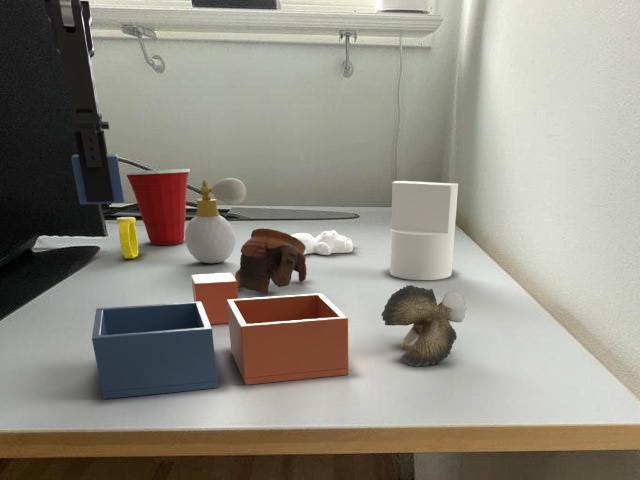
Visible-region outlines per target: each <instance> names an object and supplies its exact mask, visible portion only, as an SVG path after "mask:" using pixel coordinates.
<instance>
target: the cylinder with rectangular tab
mask: <svg viewBox="0 0 640 480" xmlns="http://www.w3.org/2000/svg"><path fill="white" fill-rule="evenodd" d="M458 191H459V183H451V182H433V181H414V180H413V181H411V180H395V181H392V183H391V211H390V212H391V213H390V248H389V249H390V250H389V275H391V276H392V277H394V278H398V279H404V280H409V281H411V280H412V281H437V280H443V279H447V278H449V277H451V276H452V275H453V273H452V272H453V263H454V262H453V260H454V246H455V245H454V244H455V235H456V233H455V232H456V219H457V207H458V204H457V203H458V194H459V193H458Z"/></svg>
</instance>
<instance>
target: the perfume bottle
mask: <svg viewBox="0 0 640 480" xmlns="http://www.w3.org/2000/svg"><path fill="white" fill-rule="evenodd" d="M201 185H202V186H201V187H200V193H201V194H202V196H201V198H198V199H196V200H195V201H196V207H197V208H196V215H195V216H194V217H192V218H191V219H190V221H189V222H188V224H187V225H186V227H185V231H184V241H185V246H186V248H187V250H188V252H189V253H190V254H189V255H191V256H192V257H193V258H194V259H195V260H197V261H199V262H201V263H203V264H217V263H223V262H224V261H226V260H227V259H229V258H230V257H231V255H232V254H233V252H234V249H235V246H236V236H235V231H234V229H233V227H232V225H231V223H230V222H229V221H228V220H227V219H226V218H225V217H224V216H222V215H220V212H219V210H218V201H217V200H219V201H220V202H222V203H224V204H228V205H237V204H241V203H242V202H244V201H245V200H244V199H245V198H246V195H247V188H246V186H245V184H244V183H243V181H241V180H240V179H238V178H234V177H227V178H222V179H219V180H218V181H217V182H216V183H214V184H213V185H212V187H211V188H210V187H209V186H208V182H207V180H206V179H203V180H202V183H201ZM210 193H211V194H212V195H213V196H214V198H211V195H210Z"/></svg>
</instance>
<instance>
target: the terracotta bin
mask: <svg viewBox="0 0 640 480" xmlns="http://www.w3.org/2000/svg"><path fill="white" fill-rule="evenodd" d="M227 311H228V322H229V323H228V330H229V331H228V332H229V338H230V339H229V342H230V353H231V355H232V357H233V360H234V362H235V365H236V366H237V369H238V371H239V373H240V375H241V378H242V380H243V382H244V385H245V386H247V385H248V386H249V385H250V386H251V385H260V384H267V383H277V382H279V383H280V382H288V381H297V380H309V379H317V378H328V377H337V376H347V375H349V318H348V317H347V316H346V314H344V313H343V312H342V311H341V310H340V309H339V307H337V306H336V305H335V304H334V303H333V302H332V301H331V300H330V299H329V298H328V297H326V295H324V294H323V293H322V292H320V293H306V294H290V295H289V294H288V295H275V296H263V297H262V296H261V297H247V298H246V297H245V298H238V299H229V300H227Z"/></svg>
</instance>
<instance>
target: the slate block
mask: <svg viewBox="0 0 640 480" xmlns="http://www.w3.org/2000/svg"><path fill="white" fill-rule="evenodd" d="M70 159H71V164H72V170H73V175H74V180H75V183H76V184H75V185H76V191H77V196H78V200H79V204H80V205H101V204H103V205H104V204H105V205H106V204H124V203H125V194H124V189H123V182H122V176H121V171H120V164H119V158H118V153H107V160H108V166H109V172H110V178H111V184H112V190H113V197H114V201H104V202H87V199H86V194H85V188H84V182H83V177H82V171H81V166H80V160H79V155H78V154H73V155H72V156H71V158H70Z"/></svg>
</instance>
